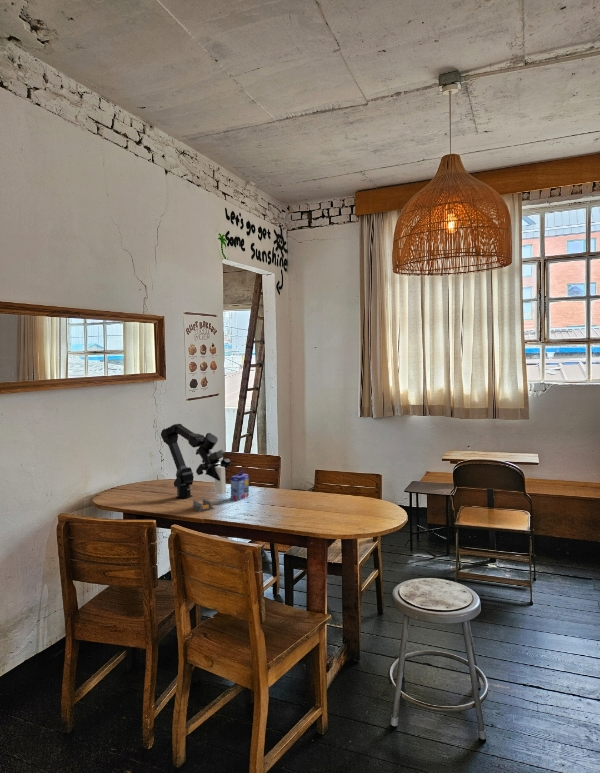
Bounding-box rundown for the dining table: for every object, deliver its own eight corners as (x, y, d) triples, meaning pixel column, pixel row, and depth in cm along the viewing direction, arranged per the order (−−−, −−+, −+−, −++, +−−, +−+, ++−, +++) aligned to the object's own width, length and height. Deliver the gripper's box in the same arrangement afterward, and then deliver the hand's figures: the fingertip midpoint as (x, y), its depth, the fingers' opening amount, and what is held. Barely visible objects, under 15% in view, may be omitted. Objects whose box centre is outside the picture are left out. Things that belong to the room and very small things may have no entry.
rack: (192, 507, 260) (192, 500, 260) (205, 504, 264) (205, 498, 264) (199, 511, 252) (198, 504, 252) (212, 508, 256) (212, 502, 256)
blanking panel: (215, 492, 262) (214, 466, 261) (219, 491, 263) (218, 466, 263) (222, 494, 258) (221, 468, 258) (225, 493, 260) (224, 467, 260)
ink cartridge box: (239, 501, 269) (238, 473, 269) (230, 500, 272) (229, 472, 271) (249, 496, 278) (248, 469, 277) (241, 495, 281) (240, 468, 280)
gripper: (198, 448, 255) (214, 473, 249) (227, 442, 269) (243, 466, 263) (189, 462, 261) (204, 487, 254) (218, 456, 275) (233, 480, 268)
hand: (221, 479), depth 260 cm, fingers closed on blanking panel, 2 cm apart
